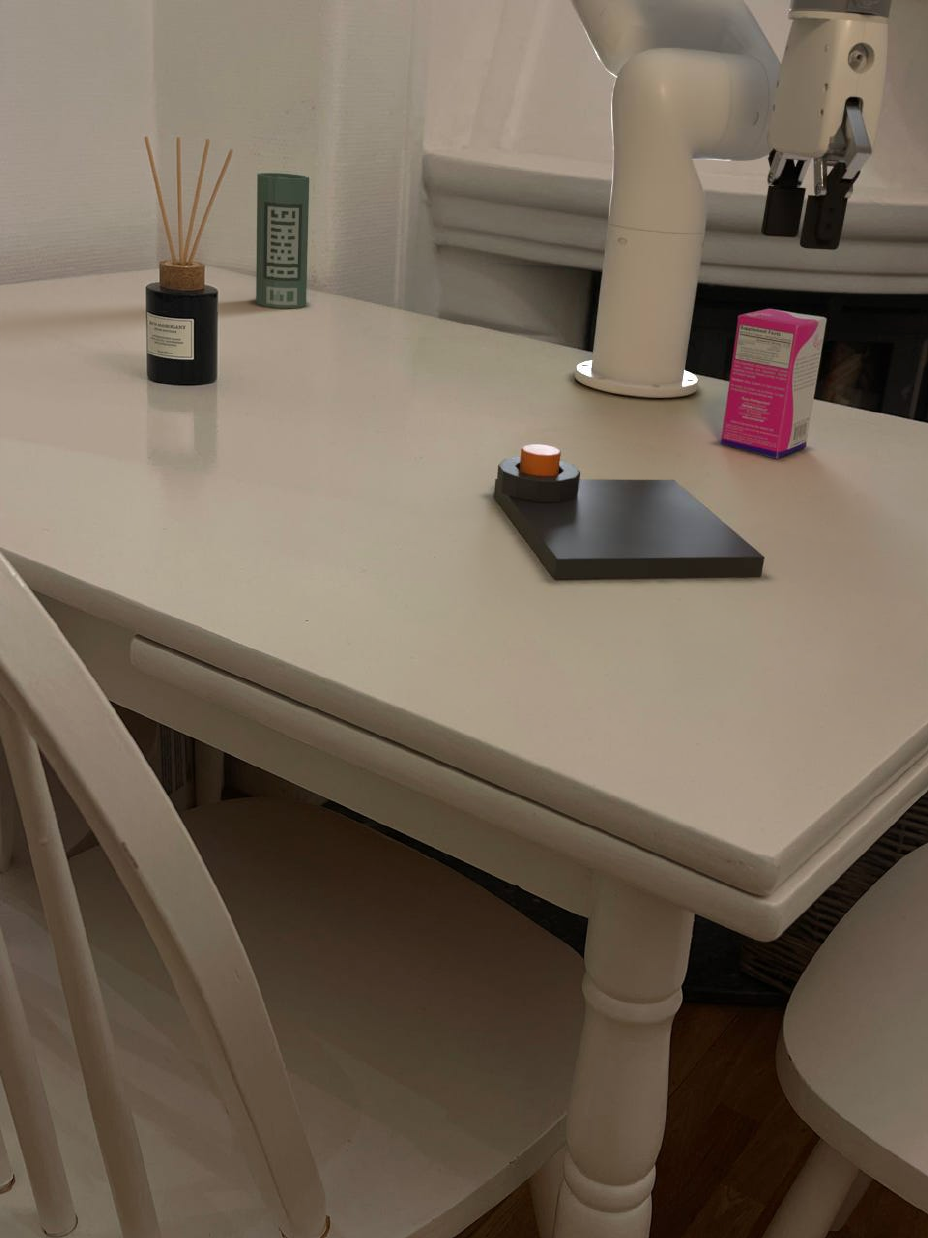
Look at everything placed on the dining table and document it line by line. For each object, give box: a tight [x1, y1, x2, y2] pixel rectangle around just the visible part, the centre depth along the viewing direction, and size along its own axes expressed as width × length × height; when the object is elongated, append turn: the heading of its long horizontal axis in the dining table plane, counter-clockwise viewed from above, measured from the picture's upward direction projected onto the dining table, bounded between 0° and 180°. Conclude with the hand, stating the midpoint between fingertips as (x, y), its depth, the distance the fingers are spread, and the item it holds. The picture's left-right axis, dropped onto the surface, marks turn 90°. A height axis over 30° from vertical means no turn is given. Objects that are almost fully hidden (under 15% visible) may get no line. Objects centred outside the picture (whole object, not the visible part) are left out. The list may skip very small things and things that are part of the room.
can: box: [255, 172, 310, 309], centre depth 153 cm, size 6×6×15 cm
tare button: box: [519, 443, 562, 476], centre depth 89 cm, size 3×3×2 cm
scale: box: [493, 456, 765, 581], centre depth 87 cm, size 16×14×3 cm
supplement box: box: [720, 308, 827, 460], centre depth 109 cm, size 6×6×12 cm
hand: (798, 239), depth 104 cm, fingers open, 6 cm apart
